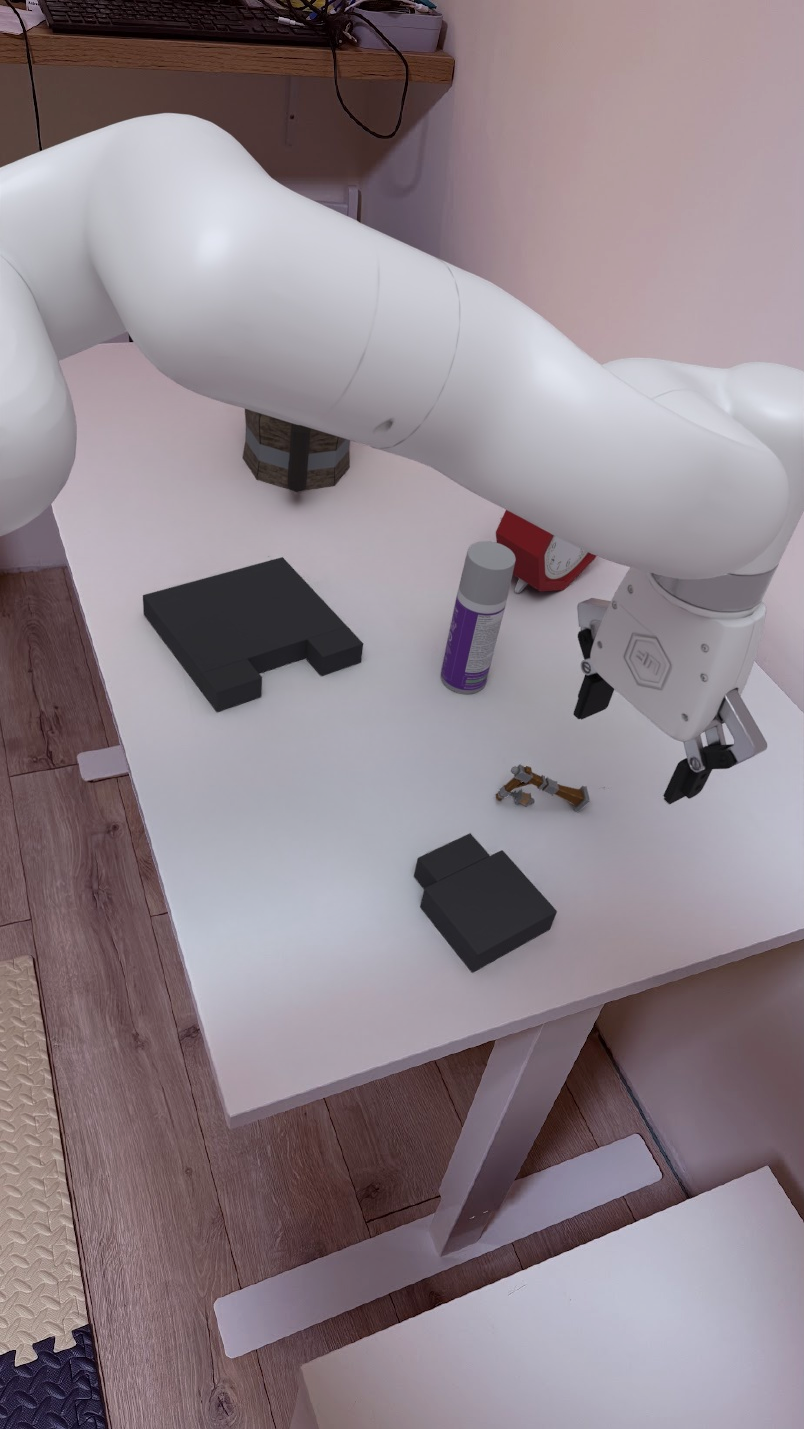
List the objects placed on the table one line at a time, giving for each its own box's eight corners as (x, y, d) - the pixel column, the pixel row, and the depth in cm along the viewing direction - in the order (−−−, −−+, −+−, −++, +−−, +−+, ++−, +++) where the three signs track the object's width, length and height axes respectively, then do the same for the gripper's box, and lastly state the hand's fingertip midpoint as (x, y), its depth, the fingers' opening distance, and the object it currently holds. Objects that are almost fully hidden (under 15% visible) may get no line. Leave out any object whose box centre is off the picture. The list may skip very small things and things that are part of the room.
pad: (472, 973, 77) (478, 955, 75) (400, 882, 82) (404, 863, 81) (550, 929, 81) (557, 911, 79) (477, 845, 86) (482, 826, 84)
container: (432, 667, 102) (457, 544, 92) (472, 659, 104) (501, 537, 94) (453, 698, 99) (481, 573, 89) (494, 688, 101) (526, 566, 91)
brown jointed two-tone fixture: (486, 786, 90) (515, 755, 87) (557, 813, 93) (587, 784, 91) (488, 801, 89) (518, 770, 86) (560, 828, 92) (591, 799, 89)
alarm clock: (525, 615, 111) (569, 451, 97) (466, 577, 115) (500, 413, 101) (602, 568, 119) (652, 411, 106) (545, 534, 123) (586, 378, 110)
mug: (245, 431, 132) (248, 317, 121) (348, 440, 133) (360, 329, 123) (236, 514, 118) (238, 393, 107) (352, 523, 119) (365, 405, 109)
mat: (216, 712, 94) (216, 692, 92) (143, 614, 102) (142, 594, 101) (361, 662, 101) (363, 643, 100) (281, 575, 110) (282, 556, 108)
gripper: (577, 508, 67) (522, 697, 79) (778, 662, 58) (682, 851, 69) (655, 485, 71) (591, 669, 82) (856, 626, 61) (752, 811, 73)
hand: (633, 752), depth 76 cm, fingers open, 9 cm apart
